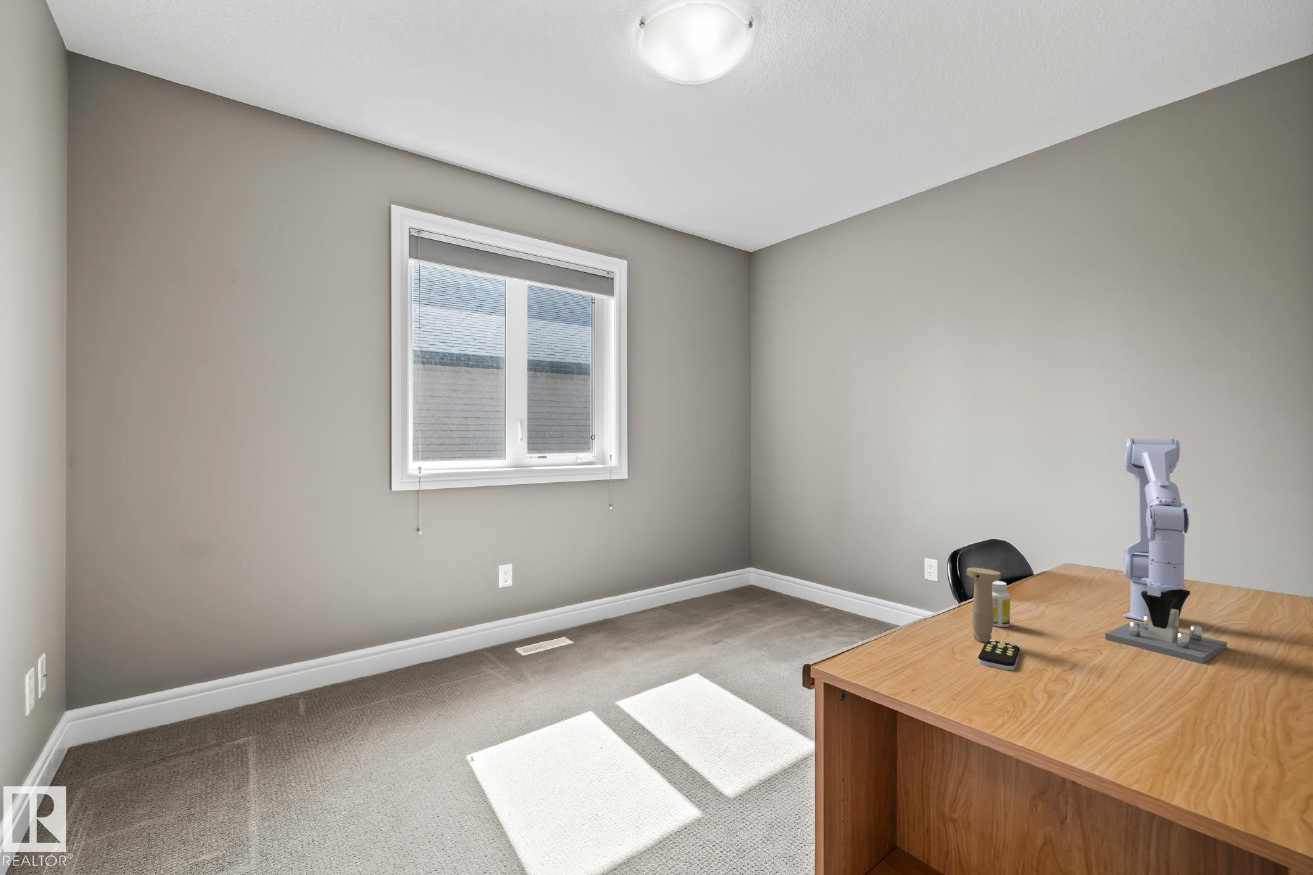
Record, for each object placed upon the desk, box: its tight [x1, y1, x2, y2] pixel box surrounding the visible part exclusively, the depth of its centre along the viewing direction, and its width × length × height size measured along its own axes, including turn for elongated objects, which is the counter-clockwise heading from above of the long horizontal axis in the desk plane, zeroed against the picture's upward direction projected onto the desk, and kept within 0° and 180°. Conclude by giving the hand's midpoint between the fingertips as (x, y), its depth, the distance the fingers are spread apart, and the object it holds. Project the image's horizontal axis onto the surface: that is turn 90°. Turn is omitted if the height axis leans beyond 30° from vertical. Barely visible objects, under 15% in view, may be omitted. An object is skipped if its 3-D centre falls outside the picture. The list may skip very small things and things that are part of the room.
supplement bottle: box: [992, 580, 1011, 628], centre depth 137 cm, size 5×5×10 cm
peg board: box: [1104, 615, 1228, 664], centre depth 125 cm, size 16×16×4 cm
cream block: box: [1148, 609, 1180, 642], centre depth 126 cm, size 4×4×6 cm
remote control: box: [977, 639, 1021, 671], centre depth 116 cm, size 6×13×2 cm, turn 143°
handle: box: [966, 567, 1001, 643], centre depth 126 cm, size 5×6×15 cm
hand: (1165, 624), depth 125 cm, fingers open, 6 cm apart
